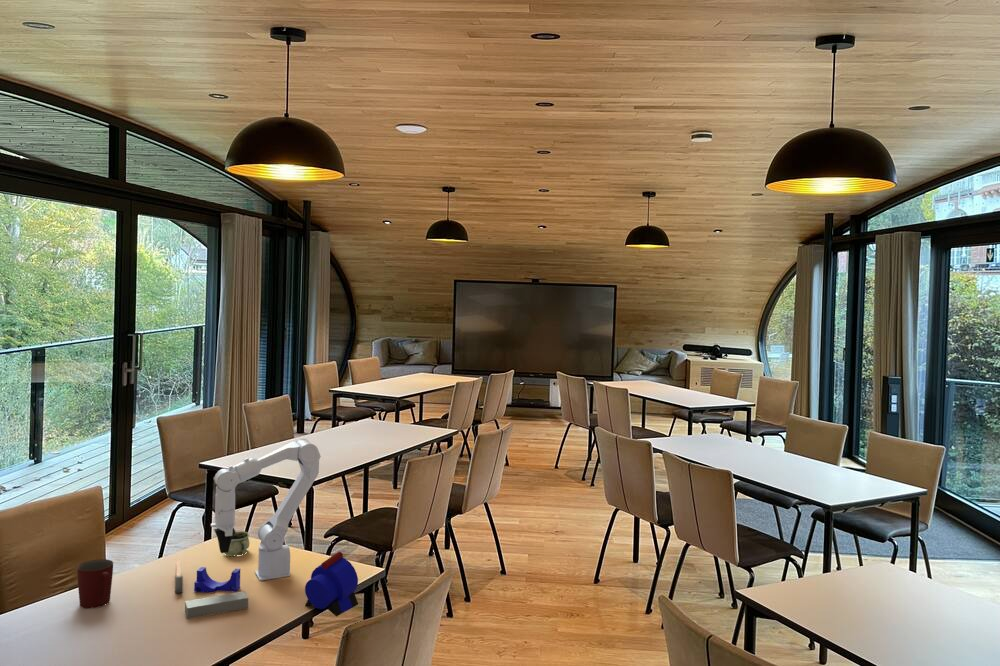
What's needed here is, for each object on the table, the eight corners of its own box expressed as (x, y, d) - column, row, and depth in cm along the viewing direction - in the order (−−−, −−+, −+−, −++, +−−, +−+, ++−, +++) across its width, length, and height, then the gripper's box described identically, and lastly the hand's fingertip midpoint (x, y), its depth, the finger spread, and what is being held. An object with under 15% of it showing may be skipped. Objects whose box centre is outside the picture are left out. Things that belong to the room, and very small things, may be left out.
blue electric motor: (359, 603, 211) (361, 553, 210) (331, 619, 200) (333, 566, 200) (327, 594, 217) (329, 545, 216) (298, 609, 206) (300, 557, 205)
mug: (123, 605, 203) (124, 567, 203) (90, 616, 196) (91, 576, 196) (103, 593, 211) (104, 556, 210) (71, 603, 203) (71, 565, 203)
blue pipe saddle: (194, 592, 215) (194, 572, 214) (200, 586, 219) (201, 566, 219) (234, 594, 214) (234, 574, 214) (239, 588, 219) (240, 568, 219)
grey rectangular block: (244, 601, 210) (244, 590, 209) (248, 608, 205) (248, 597, 205) (184, 611, 202) (184, 600, 201) (187, 618, 197) (187, 608, 197)
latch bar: (174, 573, 227) (174, 559, 226) (181, 572, 228) (181, 558, 227) (175, 593, 212) (175, 578, 212) (182, 592, 213) (182, 577, 213)
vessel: (257, 554, 247) (257, 536, 246) (233, 561, 240) (234, 542, 240) (238, 545, 254) (238, 528, 254) (214, 551, 247) (215, 533, 247)
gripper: (207, 503, 225) (206, 546, 226) (215, 516, 213) (214, 562, 214) (231, 501, 229) (230, 543, 230) (240, 514, 216) (239, 558, 217)
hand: (224, 552), depth 222 cm, fingers closed
